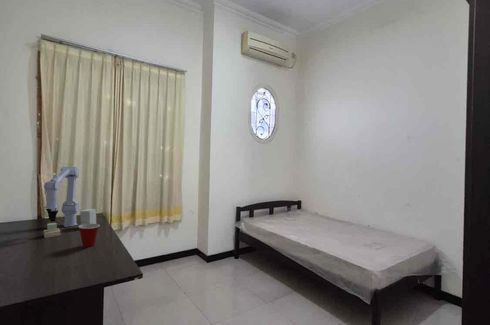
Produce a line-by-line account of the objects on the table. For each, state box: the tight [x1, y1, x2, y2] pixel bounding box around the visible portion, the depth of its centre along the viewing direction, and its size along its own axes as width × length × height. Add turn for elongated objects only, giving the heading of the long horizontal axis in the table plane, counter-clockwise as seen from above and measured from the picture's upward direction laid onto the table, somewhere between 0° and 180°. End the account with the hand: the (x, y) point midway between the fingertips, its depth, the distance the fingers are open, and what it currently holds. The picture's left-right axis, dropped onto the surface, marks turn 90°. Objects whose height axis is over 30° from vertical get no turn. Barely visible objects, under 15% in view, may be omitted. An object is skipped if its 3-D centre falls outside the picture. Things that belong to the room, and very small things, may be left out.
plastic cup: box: [77, 223, 101, 248], centre depth 147 cm, size 11×11×12 cm
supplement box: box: [79, 208, 97, 225], centre depth 185 cm, size 7×7×13 cm
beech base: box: [43, 227, 61, 239], centre depth 165 cm, size 8×8×3 cm
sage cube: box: [46, 222, 58, 232], centre depth 165 cm, size 4×4×4 cm
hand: (52, 220), depth 165 cm, fingers open, 7 cm apart
